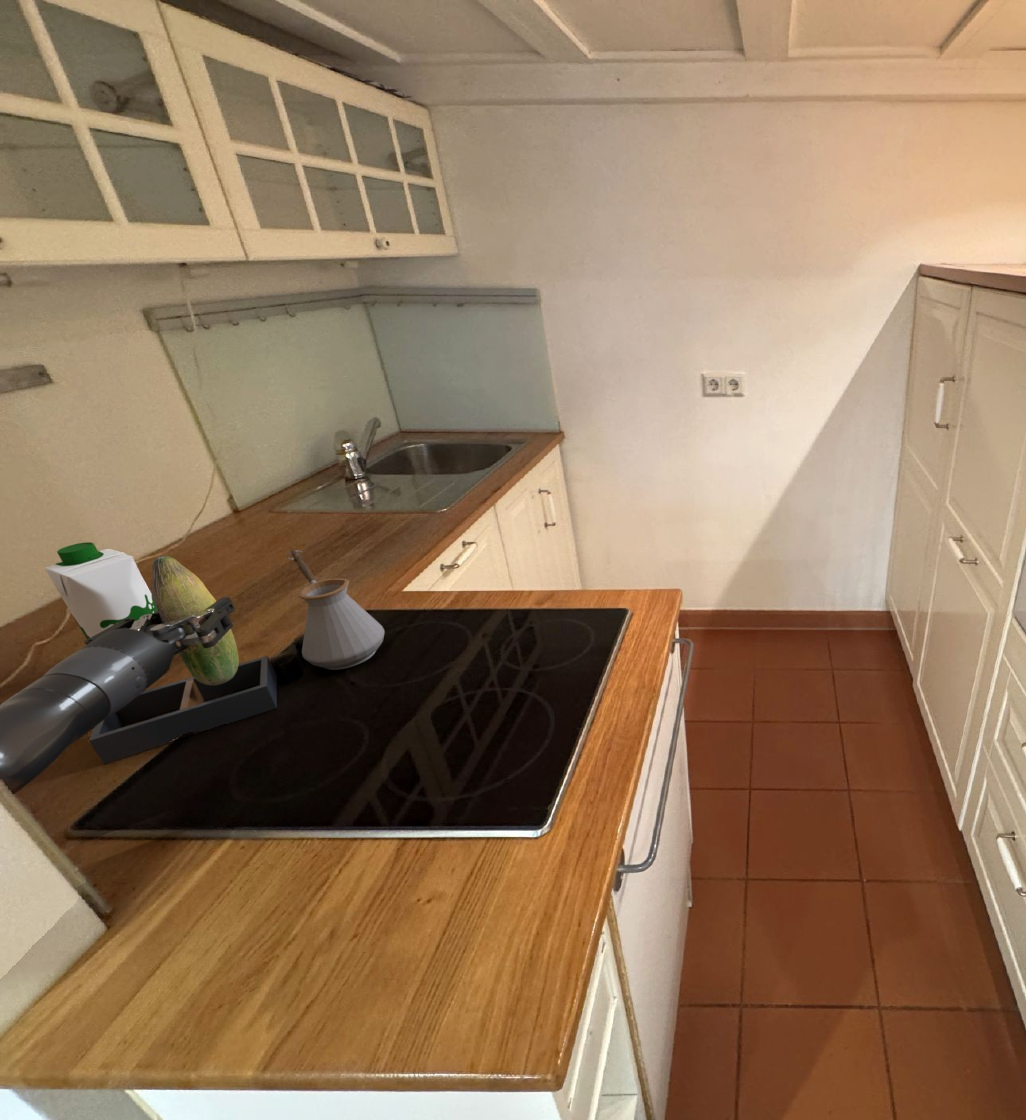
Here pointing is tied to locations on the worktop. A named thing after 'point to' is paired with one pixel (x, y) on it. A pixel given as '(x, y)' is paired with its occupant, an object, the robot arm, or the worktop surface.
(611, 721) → the worktop surface
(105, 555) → the milk carton
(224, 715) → the divided tray
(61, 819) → the worktop surface
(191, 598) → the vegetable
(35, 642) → the worktop surface
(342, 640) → the coffee pot
